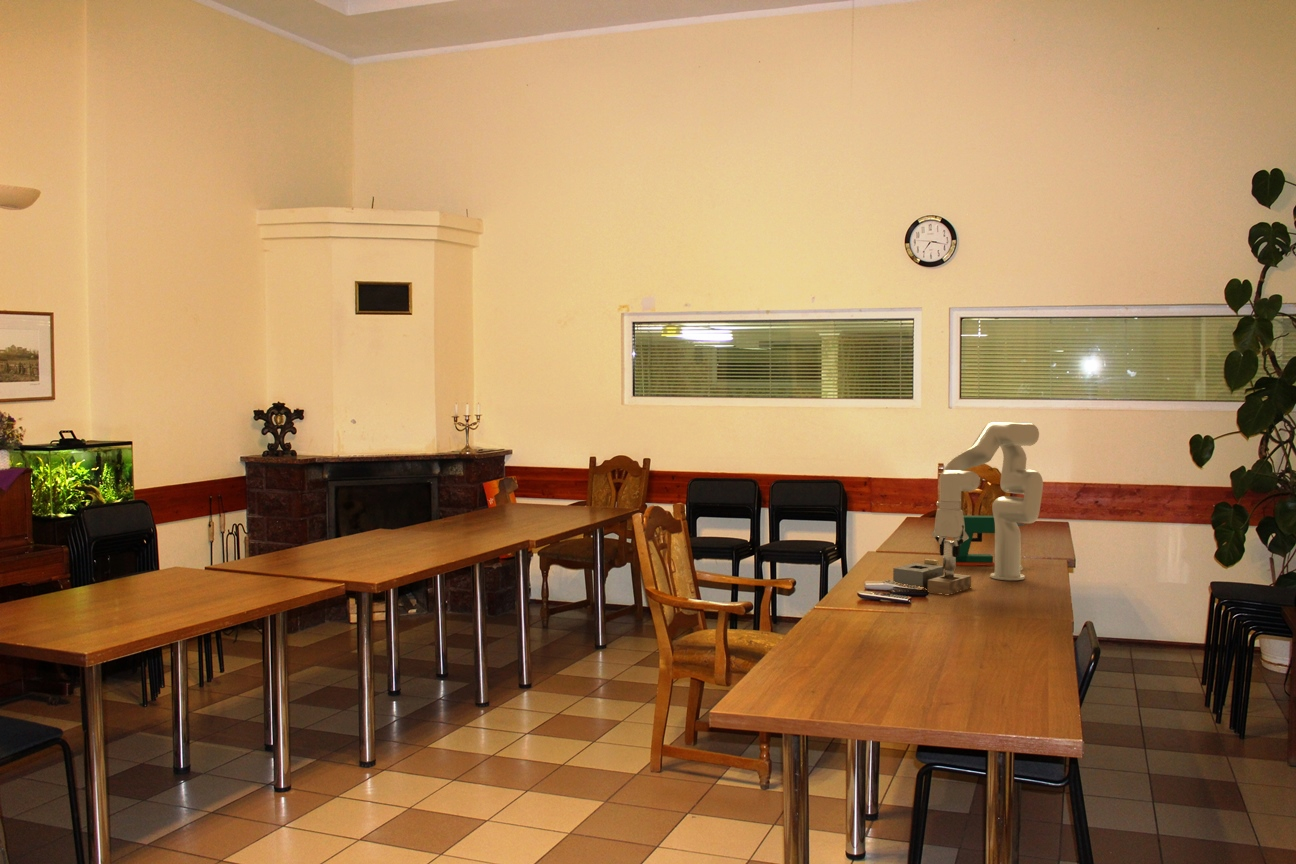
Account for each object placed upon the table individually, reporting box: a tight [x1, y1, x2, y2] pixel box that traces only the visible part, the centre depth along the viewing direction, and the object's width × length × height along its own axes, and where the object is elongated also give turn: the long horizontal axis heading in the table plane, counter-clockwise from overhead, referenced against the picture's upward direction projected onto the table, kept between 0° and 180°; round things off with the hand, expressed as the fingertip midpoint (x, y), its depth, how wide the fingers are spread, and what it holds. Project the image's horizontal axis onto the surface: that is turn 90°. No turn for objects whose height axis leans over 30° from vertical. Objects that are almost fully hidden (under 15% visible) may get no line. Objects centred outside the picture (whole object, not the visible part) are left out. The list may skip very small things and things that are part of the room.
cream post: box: [942, 540, 957, 578], centre depth 387 cm, size 4×4×13 cm
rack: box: [927, 573, 972, 595], centre depth 387 cm, size 18×8×4 cm, turn 138°
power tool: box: [956, 514, 1027, 566], centre depth 442 cm, size 32×7×20 cm, turn 84°
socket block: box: [892, 562, 945, 589], centre depth 396 cm, size 16×12×7 cm
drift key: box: [923, 558, 939, 566], centre depth 401 cm, size 8×5×7 cm, turn 138°
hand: (949, 555), depth 387 cm, fingers closed on cream post, 4 cm apart
